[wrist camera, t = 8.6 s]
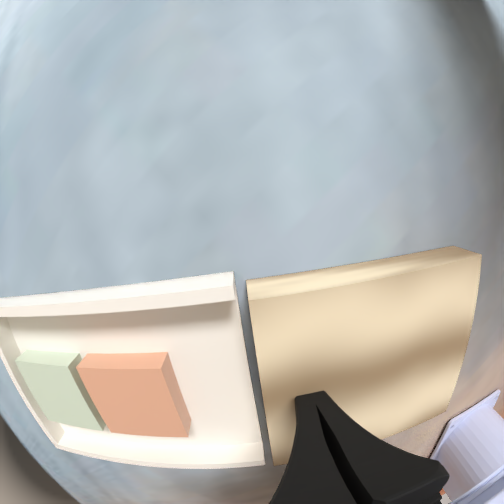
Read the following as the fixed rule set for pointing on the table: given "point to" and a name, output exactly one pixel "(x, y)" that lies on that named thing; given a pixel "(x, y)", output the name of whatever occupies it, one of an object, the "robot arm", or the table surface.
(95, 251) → the table surface
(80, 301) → the tray
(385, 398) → the maple board
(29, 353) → the sage tile
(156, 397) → the terracotta tile
